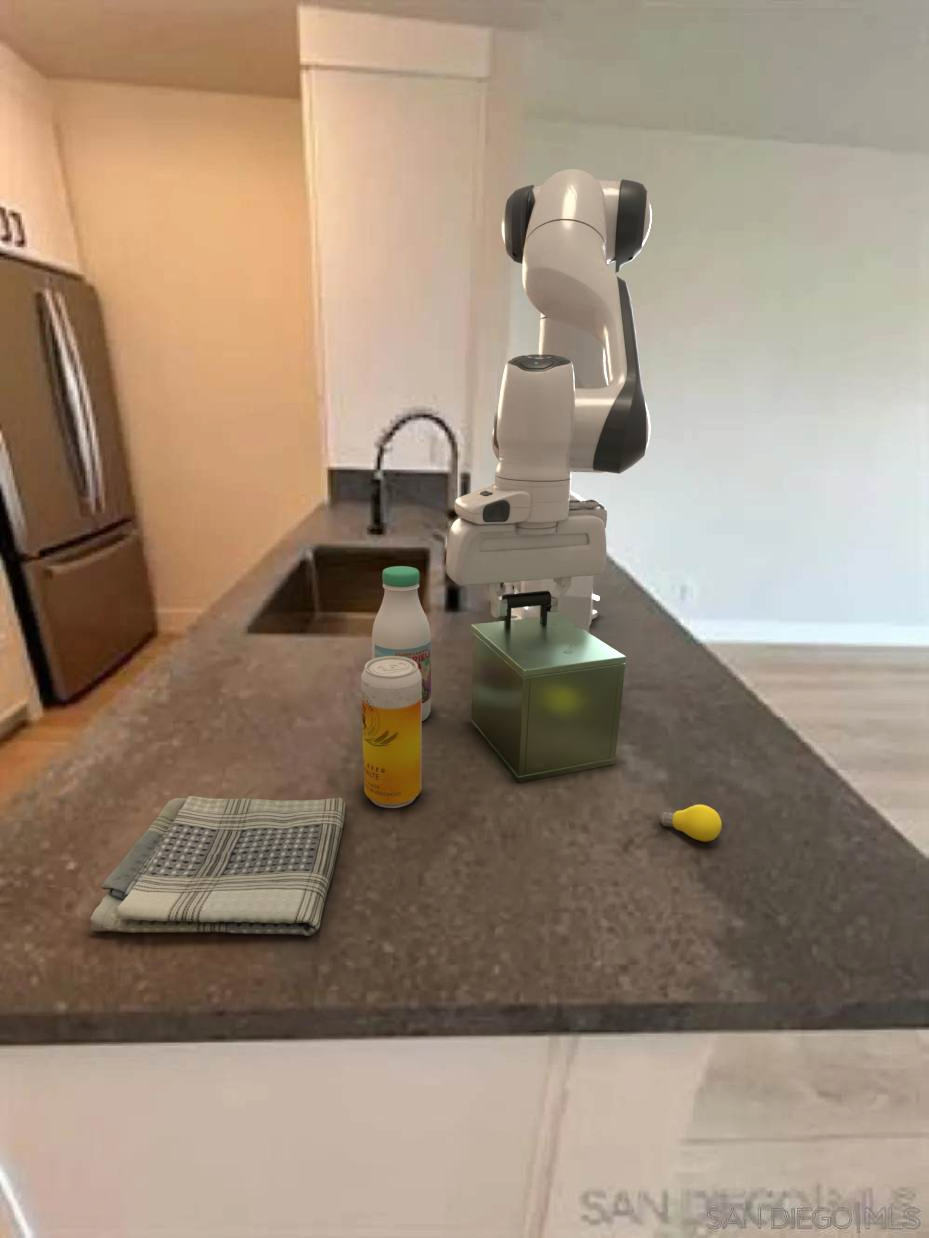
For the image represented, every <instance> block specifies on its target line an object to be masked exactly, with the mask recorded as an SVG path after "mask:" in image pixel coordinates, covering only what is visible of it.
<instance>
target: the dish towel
mask: <svg viewBox="0 0 929 1238" xmlns="http://www.w3.org/2000/svg"><path fill="white" fill-rule="evenodd" d="M346 812H347V803H346V802H345V800H343V798H341V797H335V798H334V797H333V798H321V799H307V800H303V799H299V800H296V799H288V800H274V799H260V798H207V797H202V796H193V795H192V796H191V795H189V796H188V797H187V798H184V797H174V798H173V799H170V800H168V802H167V803H166V804H165V805H164V806H163V807H162V809H161V811H160V812H159V813H158V814H157V817H156V818H155V820H153V821H152V822H151V824H150V825H149V827H148V829H147V830H146V831H145V832H144V833H143V834H142V835H141V836H140V837H139V839H138V840H137V841H136V842H135V843H134V844H132V847H131V848H130V849H129V851H128V852H127V854H126V855H125V856H123V858H122V859H121V861H120V862H119V863H118V864H117V866H116V867H115V868H114V869H113V870H112V872H111V873H110V874H109V875H107V877H106V878H105V880H104V881H103V883H102V884H101V885H100V887H101V889H102V890H105V891H106V890H109V891H108V893H107V894H106V895H105V896H104V897H103V898H102V900H101V901H100V903H99V905H98V906H97V907H96V908H95V909H94V910H93V912H92V915H90V918H89V919H90V923H91V925H90V931H92V932H115V933H116V932H117V933H118V932H119V933H133V934H135V933H150V934H151V933H228V934H229V933H230V934H245V935H246V934H247V935H248V934H250V935H254V934H255V935H300V936H305V937H311V936H312V935H314V934H315V933H317V932H318V930H319V929H320V926H321V921H322V917H323V910H324V908H325V903H326V899H327V895H328V891H329V889H330V884H331V882H332V878H333V876H334V871H335V865H336V861H337V855H338V852H339V847H340V843H341V841H342V840H341V839H342V835H343V829H344V825H345V821H346V814H347V813H346Z"/></svg>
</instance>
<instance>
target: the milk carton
mask: <svg viewBox="0 0 929 1238" xmlns="http://www.w3.org/2000/svg"><path fill="white" fill-rule="evenodd" d="M594 576H595V575H590V576H578V577H572V578H571V586H570V588H569V589H568V591H567V592H566V594H565V595H564V597H563V599H562V601H561V610H560V611H559V612H548V613H547V617H548V616H558V615H561V616H562V617H564V618H566V619H567V620H569V621H570V622H572V623H573V624H575V625H577V626H578V627H580V628H581V629H583V630H585V631H586V632H588V633H589V634H590V626H591V624H590V613H591V601H592V589H593V590H594ZM553 579H554V578H553ZM553 579H542V580H541V588H540V591H549V592H550V593H552V591H553V589H554V587H555V585H556V582H554V581H553ZM540 610H541V606H539V616H538V617H540ZM589 625H590V626H589Z"/></svg>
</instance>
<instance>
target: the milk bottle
mask: <svg viewBox="0 0 929 1238" xmlns="http://www.w3.org/2000/svg"><path fill="white" fill-rule="evenodd" d="M381 578H382V588H383V589H384V595H383V598H382V601H381V605H380V607H379V609H378V611H377V613H376V616H375V619H374V622H373V625H372V632H371V660H372V659H375V658H378V657H384V656H401V657H406V658H410V659H412V660H414V661H415V662H416V663H417V665H418V669H419V671H420V673H421V675H422V722H424V721H425V720H426V719H428V717H429V716H430V714H431V711H432V709H431V708H432V637H431V628H430V624H429V623H430V622H429V620H428V618H427V615H426V613H425V611H424V609H423V607H422V605H421V602H420V598H419V593H418V588H420V571H419V570H418V568H416V567H412V566H405V565H398V566H397V565H395V566H390V567H386V568H384V569H383V570H382V577H381Z"/></svg>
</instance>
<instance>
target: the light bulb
mask: <svg viewBox="0 0 929 1238" xmlns="http://www.w3.org/2000/svg"><path fill="white" fill-rule="evenodd" d="M659 822H660V823H661V825H662V826H663V827H670V828H671V827H672V828H674V829H675V830H676V831H679V832H683V833H684V834H685V835H687V836H688V837H690V838H692V839H694V840H697V841H700V842H702V843H703V842H711V841H713V840H715V839H716V838H717V837H718V836H719V835H720V833H721V831H722V826H723V825H722V824H723V823H722V819H721V816H720V814H719V813H718V812H717V811H716V809H713V808H712V807H711V806H708V805H705V804H693V805H691V806H689V807H687V808H685V809H683V810H682V809H681V810H676V811H675V812H670V811H669V812H667V811H664V812H663V813H662V814H661V815H660V816H659Z"/></svg>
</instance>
